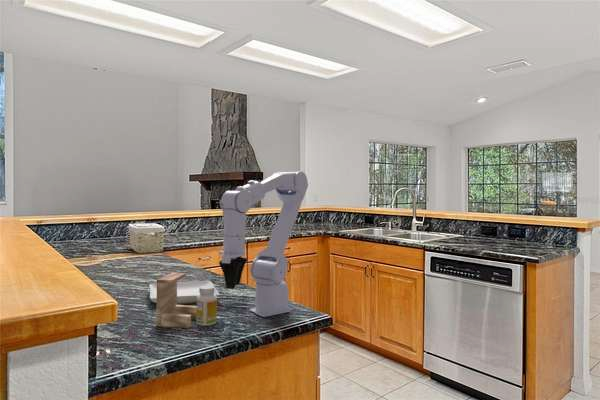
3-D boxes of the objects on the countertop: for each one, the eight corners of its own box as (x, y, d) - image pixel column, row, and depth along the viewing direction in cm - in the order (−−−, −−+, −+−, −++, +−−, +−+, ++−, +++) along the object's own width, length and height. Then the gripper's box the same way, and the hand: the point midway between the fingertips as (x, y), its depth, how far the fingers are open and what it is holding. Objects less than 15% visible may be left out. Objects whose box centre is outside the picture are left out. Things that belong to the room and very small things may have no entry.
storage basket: (165, 252, 232) (165, 226, 232) (135, 254, 223) (135, 227, 223) (155, 246, 252) (155, 223, 252) (127, 248, 243) (127, 223, 243)
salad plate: (210, 288, 150) (210, 279, 150) (220, 304, 130) (220, 293, 130) (148, 292, 143) (148, 282, 143) (149, 309, 123) (149, 298, 123)
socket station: (202, 316, 116) (202, 273, 115) (188, 327, 106) (189, 281, 106) (172, 314, 117) (172, 272, 117) (156, 325, 107) (156, 279, 107)
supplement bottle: (218, 319, 113) (218, 285, 113) (214, 326, 108) (215, 289, 108) (198, 319, 113) (199, 284, 113) (194, 326, 108) (194, 289, 108)
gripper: (228, 232, 117) (226, 280, 117) (210, 237, 102) (209, 291, 102) (252, 233, 116) (250, 281, 116) (238, 238, 101) (236, 293, 102)
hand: (232, 286), depth 109 cm, fingers open, 4 cm apart
